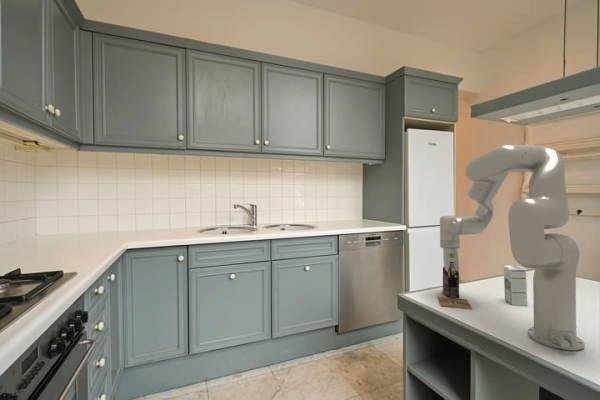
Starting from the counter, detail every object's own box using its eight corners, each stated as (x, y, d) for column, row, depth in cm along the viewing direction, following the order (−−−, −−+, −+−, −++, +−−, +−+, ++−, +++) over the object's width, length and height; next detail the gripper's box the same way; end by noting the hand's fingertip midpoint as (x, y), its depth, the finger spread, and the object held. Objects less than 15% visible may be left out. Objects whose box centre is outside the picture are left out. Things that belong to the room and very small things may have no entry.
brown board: (472, 309, 110) (472, 308, 110) (440, 306, 114) (440, 305, 114) (466, 299, 121) (466, 299, 121) (437, 297, 124) (437, 296, 124)
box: (460, 298, 123) (459, 269, 123) (449, 298, 123) (448, 270, 123) (452, 293, 129) (451, 266, 129) (442, 293, 129) (441, 266, 129)
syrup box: (528, 305, 113) (527, 268, 113) (510, 305, 114) (510, 268, 114) (520, 300, 118) (519, 265, 118) (503, 300, 119) (503, 264, 119)
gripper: (463, 247, 116) (464, 290, 116) (456, 241, 132) (456, 278, 133) (442, 247, 119) (443, 288, 119) (438, 241, 135) (438, 277, 135)
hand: (450, 283), depth 126 cm, fingers open, 9 cm apart
